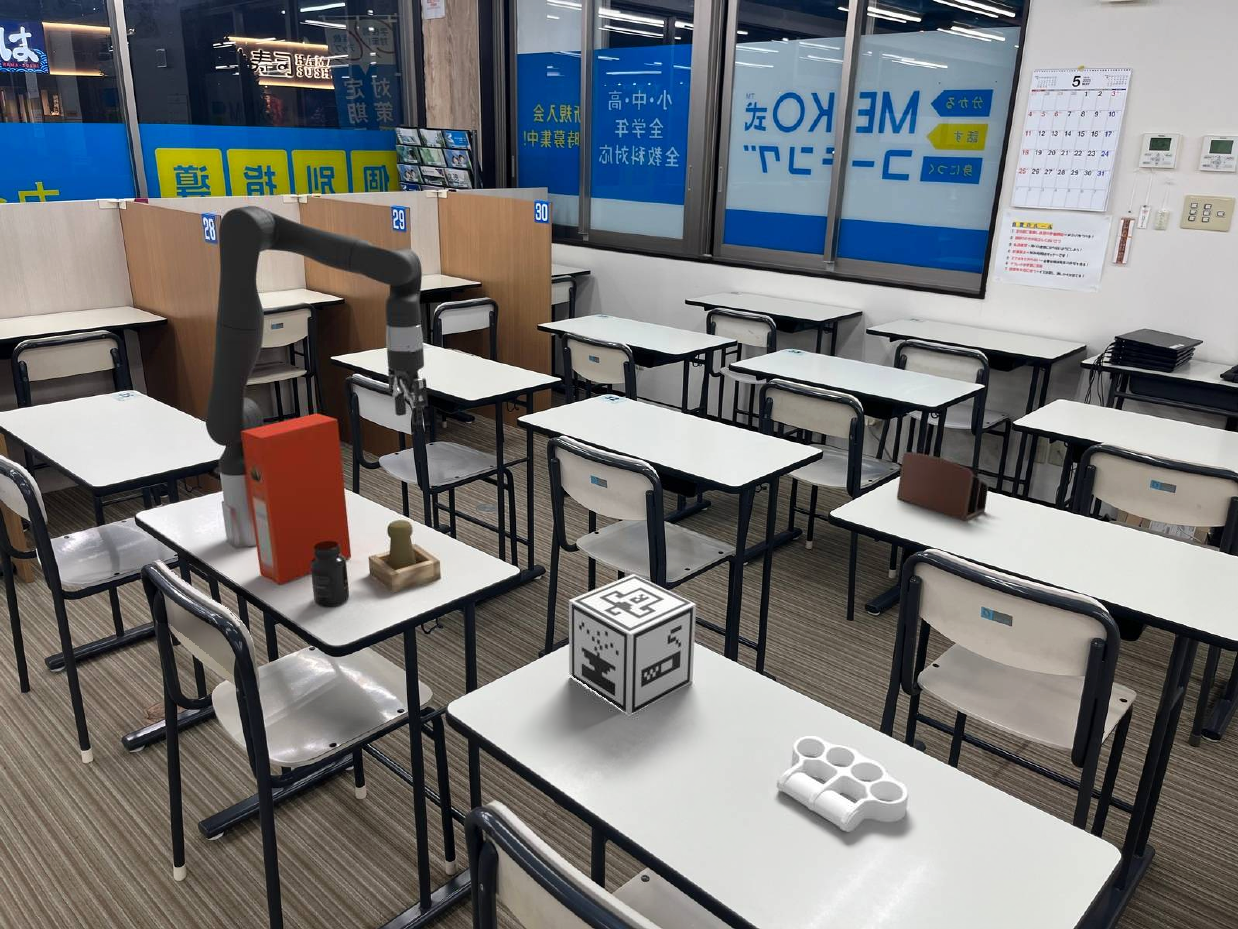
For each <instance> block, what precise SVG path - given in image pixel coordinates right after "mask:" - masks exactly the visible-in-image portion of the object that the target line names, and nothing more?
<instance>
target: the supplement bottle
mask: <svg viewBox="0 0 1238 929" xmlns="http://www.w3.org/2000/svg"><path fill="white" fill-rule="evenodd" d="M314 556H315V557H314V558H313V559H312V561H311V563H310V568H311V573H310V575H311V576H310V577H311V584H312V592H313V593H312V595H313V602H314V603H315V604H316V605H317V606H319V607H324V608H330V607H331V608H332V607H334V608H335V607H337V606H340V605H343V604H345V603H346V602H347V601H348V600H349V599H350V590H349V589H350V588H349V579H348V569H347V568H348V566H347V559H345V558H344V556H342V555H341V554H340V548H339V543H337V542H335V541H324V542H320V543H318V544H316V545H315V546H314Z"/></svg>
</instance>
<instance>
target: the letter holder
mask: <svg viewBox="0 0 1238 929" xmlns="http://www.w3.org/2000/svg"><path fill="white" fill-rule="evenodd" d="M901 460H902V462H901V468H900V475H899V482H898V488H897V495H896V499H897V500H900V501H904V502H907V503H910V504H913V505H916V506H919V507H922V508H925V509H928V510H931V511H934V512H937V513H940V514H944V515H947V516H949V517H953V518H955V519H959V520H961V521H967V520H969V519H972V518H974V517H975V516H978V515H981V514H982V513H984V512H985V509H986V504H987V498H988V491H989V486H988V484H987V483H986V482H985V481H983V480H981V479H980V478H979V477H978V476H976V475H975V474H974V471H972V469H969V468H967V467H965V466H963V465H962V464H961V465H960V464H959V463H955V462H953V461H950V460H948V459H944V458H941V457H938V456H935V455H934V456H933V455H929V454H924V453H917V452H907V451H906V452H904V453H903V455H902V459H901Z"/></svg>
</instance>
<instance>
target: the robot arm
mask: <svg viewBox="0 0 1238 929" xmlns="http://www.w3.org/2000/svg"><path fill="white" fill-rule="evenodd" d="M218 237H219V238H218V241H219V242H218V243H219V244H218V245H219V246H218V247H219V265H220V266H219V267H220V274H219V275H220V277H219V288H218V300H217V301H218V302H217V314H216V322H215V323H216V324H215V339H214V340H215V345H214V348H215V349H214V357H213V358H214V359H213V370H212V381H211V386H210V387H211V388H210V392H209V398H208V402H207V407H206V414H205V426H206V431H207V433H208V435H209V438H210V439H211V440H212V441H213V442H214V443H215V444H217V445H218V446H223V447H225V448H224V450H223V452H222V454H221V455H220V457H219V460H218V470H219V475H220V482H221V489H222V490H221V491H222V496H223V500H222V501H221V508H222V516H223V523H224V528H225V529H224V530H225V538H226V541H227V542H229V543H230V545H231V546H232V547H233V548H235V549H236V548H239V547H240V548H241V547H254V546H256V538H255V531H254V524H253V516H252V509H251V502H250V494H249V487H248V480H247V472H246V465H245V458H244V451H243V443H242V436H241V431H245V430H249V429H253V428H257V427H262V426H265V425H264V418H263V414H262V411H261V410H260V407H259V406H258V404H257V403H256V402H255V401H254V400H252V399H251V398H249V397H245V396H246V395H245V394H246V388H247V385H248V381H249V379H250V377H251V374H252V373H253V370H254V369H255V368H254V367H255V366H256V364H257V361H258V359H259V356H260V354H261V350H262V347H263V346H262V345H263V337H264V329H265V327H264V326H265V315H264V309H263V306H262V302H261V298H260V295H259V291H258V286H257V272H258V265H259V264H258V263H259V259H260V258H259V257H260V253H261V252H264V251H279V252H289V253H292V254H297V255H301V256H303V257H306V258H308V259H310V260H312V261H313V262H314V261H315V262H317V263H319V264H321V265H323V266H327V267H328V268H332V269H336V270H340V271H344V272H347V273H351V274H357V275H362V276H364V277H366V278H369V279H372V280H374V281H376V282H379V283H381V284H384V285H389V294H388V297H387V299H386V300H385V319H386V320H385V321H386V331H385V332H386V333H385V339H386V341H385V342H386V353H387V358H386V359H387V367H388V368H387V371H388V392H389V394H390V395H392V398H393V399H394V408H395V409H394V410H395V415H396V416H397V417H398V416H399V417H400V416H404V415H406V414H407V405H406V403H407V402H406V399H407V400H408V401H409V403H410V407H411V420H412V422H411V424H413V425H414V426H420V425H423V424H424V412H423V411H424V409H423V408H424V407H428V406H429V401H428V388H427V379H426V377H423V378H422V377H421V378H420V376H419V370H421V369H423V368H424V367H425V354H424V338H423V337H424V335H423V331H422V330H423V329H422V323H421V322H422V321H421V306H420V297H421V292H422V291H421V289H422V280H423V278H422V276H423V273H422V272H423V270H422V264H421V260H420V257H419V256H418V254H417V253H416V252H415V251H413V250H412V249H410V248H407V247H399V248H397V249H393V250H392V249H387V248H384V247H379V246H376V245H374V244H373V243H371V242H369V241H367V240H366V239H365V240H364V239H361V238H357V237H352V236H349V235H345V234H340V233H336V232H331V231H328V230H324V229H319V228H315V227H311V226H308V225H304V224H302V223H299V222H295V221H293V220H291V219H288V218H285V217H284V216H281V215H279V214H277V213H274V212H272V211H270V210H267V209H265V208H262V207H259V206H257V205H250V206H249V205H248V206H243V207H242V206H241V207H235V208H232V209H230V210H228V211H226V213H225V214H223V215H222V218H221V219H220V223H219V228H218Z"/></svg>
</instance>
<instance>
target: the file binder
mask: <svg viewBox="0 0 1238 929" xmlns="http://www.w3.org/2000/svg"><path fill="white" fill-rule="evenodd" d="M339 433H340V432H339V422H338V419H337V418H333V417H330V416H327V415H323V414H319V413H313V414H309V415H305V416H304V415H303V416H300V417H297V418H292V419H288V420H284V421H279V422H275V423H271V424H266V425H264V426H262V427H257V428H253V429H249V430H245V431H241V436H242V443H243V451H244V458H245V465H246V472H247V480H248V487H249V494H250V502H251V509H252V516H253V524H254V531H255V538H256V545H255V546H256V550H257V560H258V565H259V574H260V576H261V575H262V576H261V577H263V578H266V579H267V580H270V581H271V582H274V584H275V583H276V584H278V585H284V584H285V583H286V584H287V583H288V582H290V581H294V580H297V579H298V578H301V577H305V576H306V575H308V574H311V568H310V563H311V561H312V559H313V558H314V557H315V556H314V546H315V545H316V544H318V543H320V542H324V541H335V542H337V543H339V548H340V554H341V555H342V556H344V558H345V559H346V560H349V559H350V558H352V553H351V550H352V549H351V542H350V540H351V539H350V533H349V532H350V531H349V521H348V513H347V512H348V511H347V502H346V491H345V482H344V480H345V479H344V474H343V463H342V461H343V460H342V452H341V450H342V449H341V444H340V443H341V441H340V434H339Z"/></svg>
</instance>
